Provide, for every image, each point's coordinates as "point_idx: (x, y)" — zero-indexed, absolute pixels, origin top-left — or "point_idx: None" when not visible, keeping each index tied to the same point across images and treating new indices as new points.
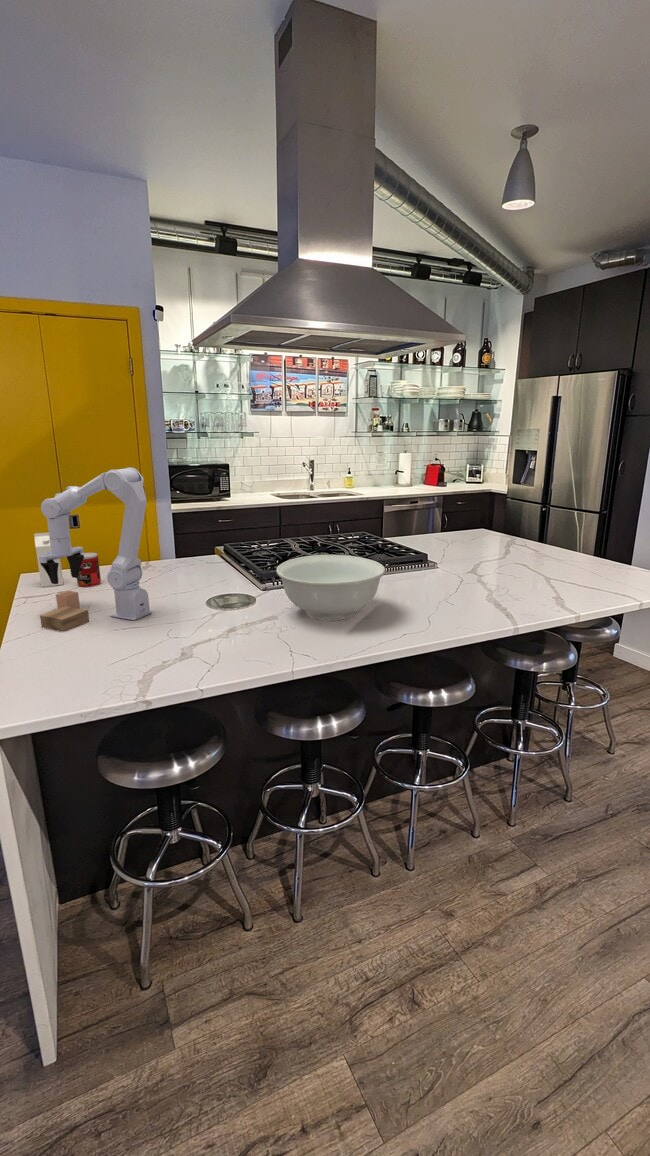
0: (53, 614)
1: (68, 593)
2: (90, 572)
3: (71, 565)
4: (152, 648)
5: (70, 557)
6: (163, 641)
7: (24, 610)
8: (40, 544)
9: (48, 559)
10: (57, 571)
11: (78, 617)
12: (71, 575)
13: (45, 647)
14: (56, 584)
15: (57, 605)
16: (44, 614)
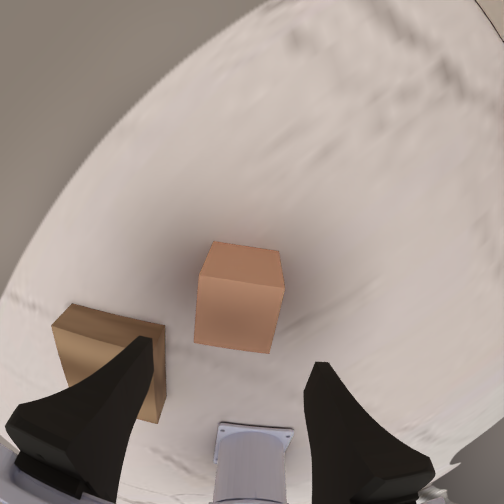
0: (77, 360)
1: (236, 327)
2: None
3: (335, 433)
4: (130, 486)
5: (347, 495)
6: (156, 492)
7: (177, 83)
8: None
9: (51, 495)
10: (125, 445)
11: None
12: (318, 367)
13: (30, 377)
14: (493, 22)
15: (209, 251)
16: (62, 335)
